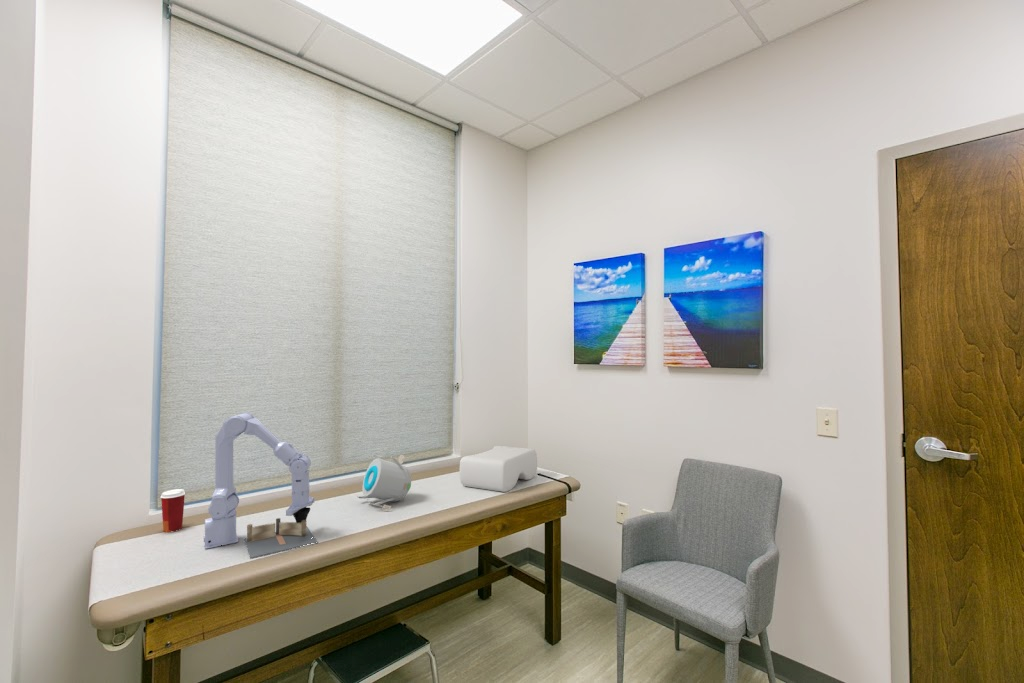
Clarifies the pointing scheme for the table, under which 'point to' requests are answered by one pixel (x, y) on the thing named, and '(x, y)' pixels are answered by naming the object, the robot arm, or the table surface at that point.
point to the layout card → (278, 543)
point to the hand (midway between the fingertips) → (301, 529)
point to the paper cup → (172, 509)
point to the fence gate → (291, 528)
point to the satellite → (386, 480)
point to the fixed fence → (260, 531)
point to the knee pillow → (498, 468)
